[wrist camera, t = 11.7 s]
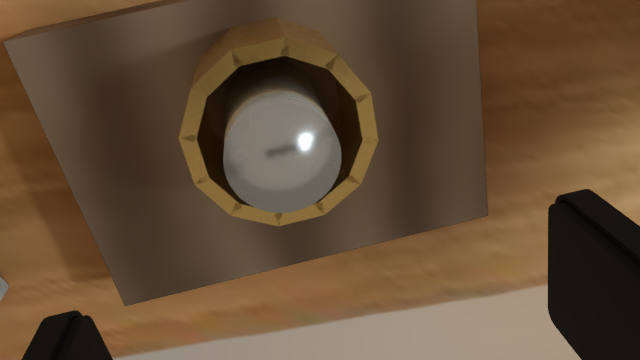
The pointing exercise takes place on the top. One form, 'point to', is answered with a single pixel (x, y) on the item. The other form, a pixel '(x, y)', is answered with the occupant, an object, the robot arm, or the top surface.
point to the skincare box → (3, 288)
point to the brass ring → (258, 45)
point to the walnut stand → (167, 117)
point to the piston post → (278, 138)
